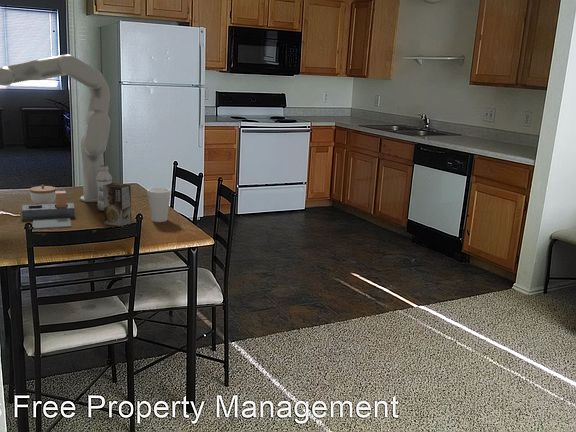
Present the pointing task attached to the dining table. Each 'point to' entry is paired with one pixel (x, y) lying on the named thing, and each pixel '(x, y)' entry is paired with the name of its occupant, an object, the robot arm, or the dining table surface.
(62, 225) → the mat
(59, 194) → the plug
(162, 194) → the foam cup
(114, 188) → the coffee box
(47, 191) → the lidded jar
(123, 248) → the dining table surface
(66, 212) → the socket plate
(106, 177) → the plastic bottle
